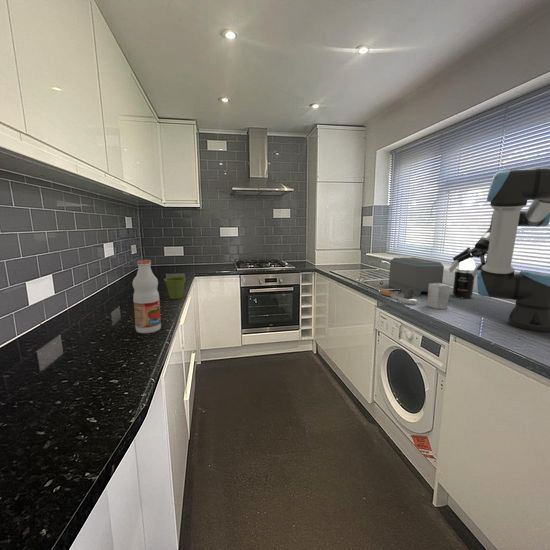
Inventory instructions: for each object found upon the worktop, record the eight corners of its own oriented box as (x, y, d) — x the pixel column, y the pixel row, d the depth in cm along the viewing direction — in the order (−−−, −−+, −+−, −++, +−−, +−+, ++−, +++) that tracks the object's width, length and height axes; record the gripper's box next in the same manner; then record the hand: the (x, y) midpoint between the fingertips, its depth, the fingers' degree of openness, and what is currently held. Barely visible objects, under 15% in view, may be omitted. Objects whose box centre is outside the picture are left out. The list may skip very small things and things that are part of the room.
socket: (447, 308, 152) (449, 285, 150) (436, 309, 150) (439, 286, 148) (437, 304, 158) (439, 283, 156) (426, 305, 156) (428, 283, 154)
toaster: (408, 284, 212) (411, 256, 208) (441, 295, 179) (445, 262, 176) (384, 285, 209) (387, 256, 205) (414, 296, 176) (417, 263, 173)
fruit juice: (141, 325, 122) (136, 258, 117) (164, 325, 122) (160, 258, 118) (131, 333, 113) (125, 261, 108) (156, 333, 113) (151, 261, 108)
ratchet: (422, 304, 159) (423, 290, 157) (406, 305, 156) (407, 291, 155) (390, 293, 184) (391, 281, 183) (376, 294, 182) (377, 282, 180)
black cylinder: (453, 293, 184) (457, 254, 180) (472, 296, 178) (477, 255, 174) (451, 297, 176) (456, 255, 171) (471, 299, 170) (477, 256, 165)
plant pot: (170, 295, 174) (169, 276, 173) (189, 295, 173) (189, 277, 172) (161, 300, 163) (160, 280, 161) (182, 300, 162) (181, 280, 160)
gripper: (514, 250, 145) (487, 281, 144) (468, 246, 169) (444, 273, 167) (507, 239, 143) (480, 271, 141) (462, 237, 166) (438, 264, 165)
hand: (461, 272), depth 154 cm, fingers open, 13 cm apart
